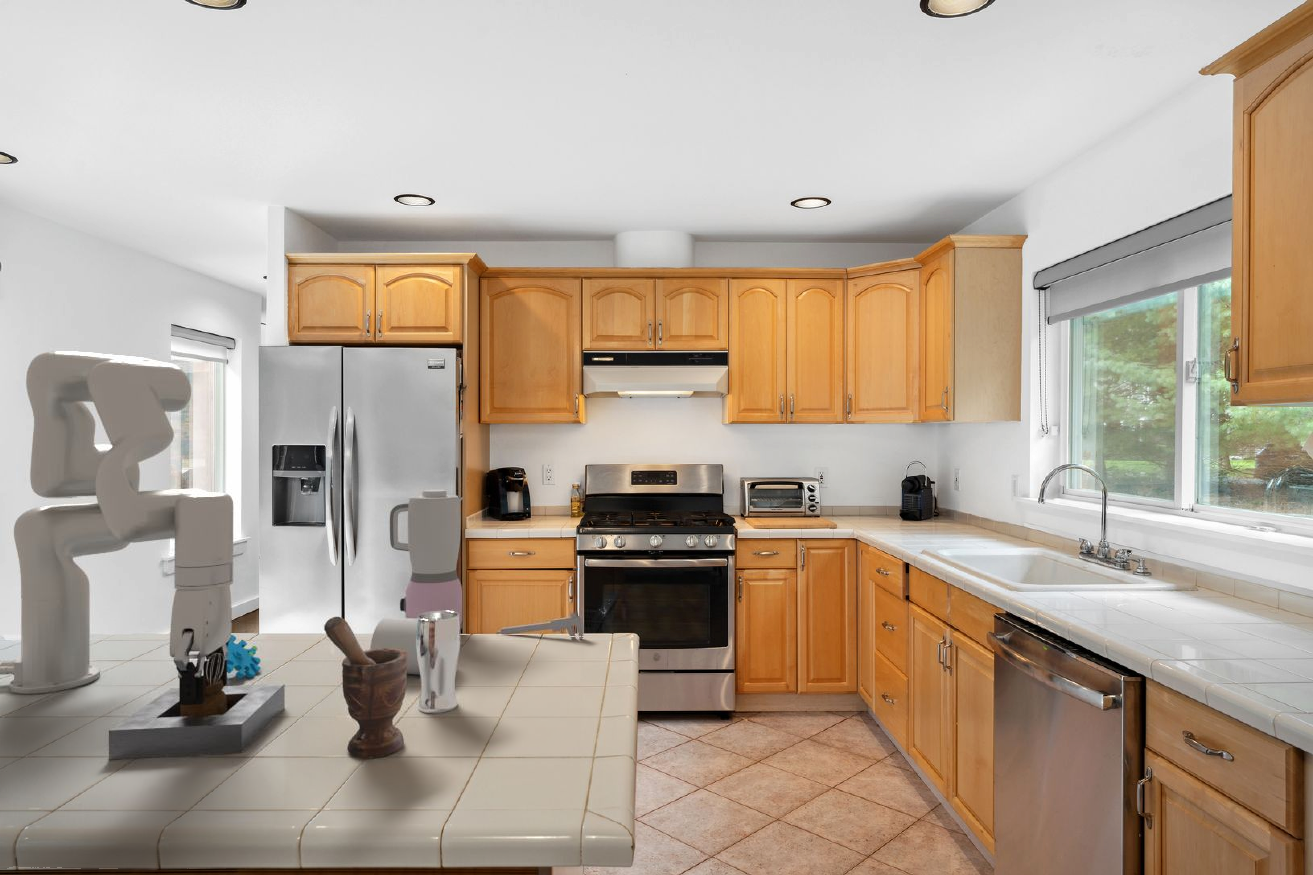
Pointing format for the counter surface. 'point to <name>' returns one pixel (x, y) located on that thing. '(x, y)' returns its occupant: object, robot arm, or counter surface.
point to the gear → (242, 658)
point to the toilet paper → (398, 639)
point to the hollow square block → (197, 725)
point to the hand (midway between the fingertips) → (204, 693)
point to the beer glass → (437, 659)
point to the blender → (431, 552)
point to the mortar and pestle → (370, 691)
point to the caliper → (550, 626)
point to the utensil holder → (209, 698)
